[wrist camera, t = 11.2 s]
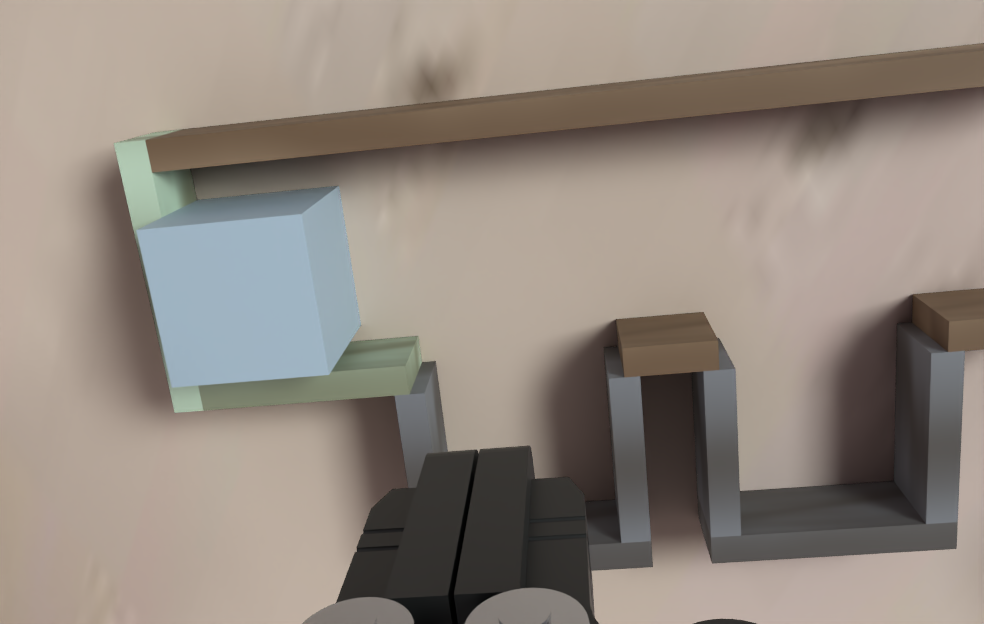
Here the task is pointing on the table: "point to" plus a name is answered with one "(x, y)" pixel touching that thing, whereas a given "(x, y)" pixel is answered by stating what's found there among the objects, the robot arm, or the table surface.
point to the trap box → (641, 341)
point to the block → (252, 286)
